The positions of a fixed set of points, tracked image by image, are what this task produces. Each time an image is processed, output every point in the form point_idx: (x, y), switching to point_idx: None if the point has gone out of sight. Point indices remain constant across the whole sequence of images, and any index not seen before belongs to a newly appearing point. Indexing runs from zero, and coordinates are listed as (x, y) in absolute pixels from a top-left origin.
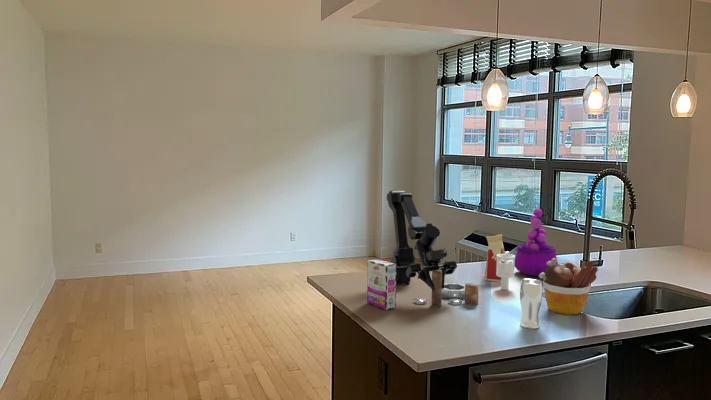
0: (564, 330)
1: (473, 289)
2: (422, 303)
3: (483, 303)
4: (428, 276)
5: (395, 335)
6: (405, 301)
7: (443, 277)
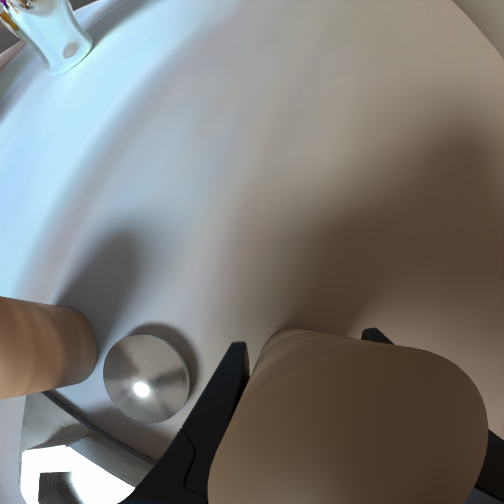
0: None
1: (7, 298)
2: None
3: None
4: None
5: (496, 67)
6: None
7: (187, 448)
